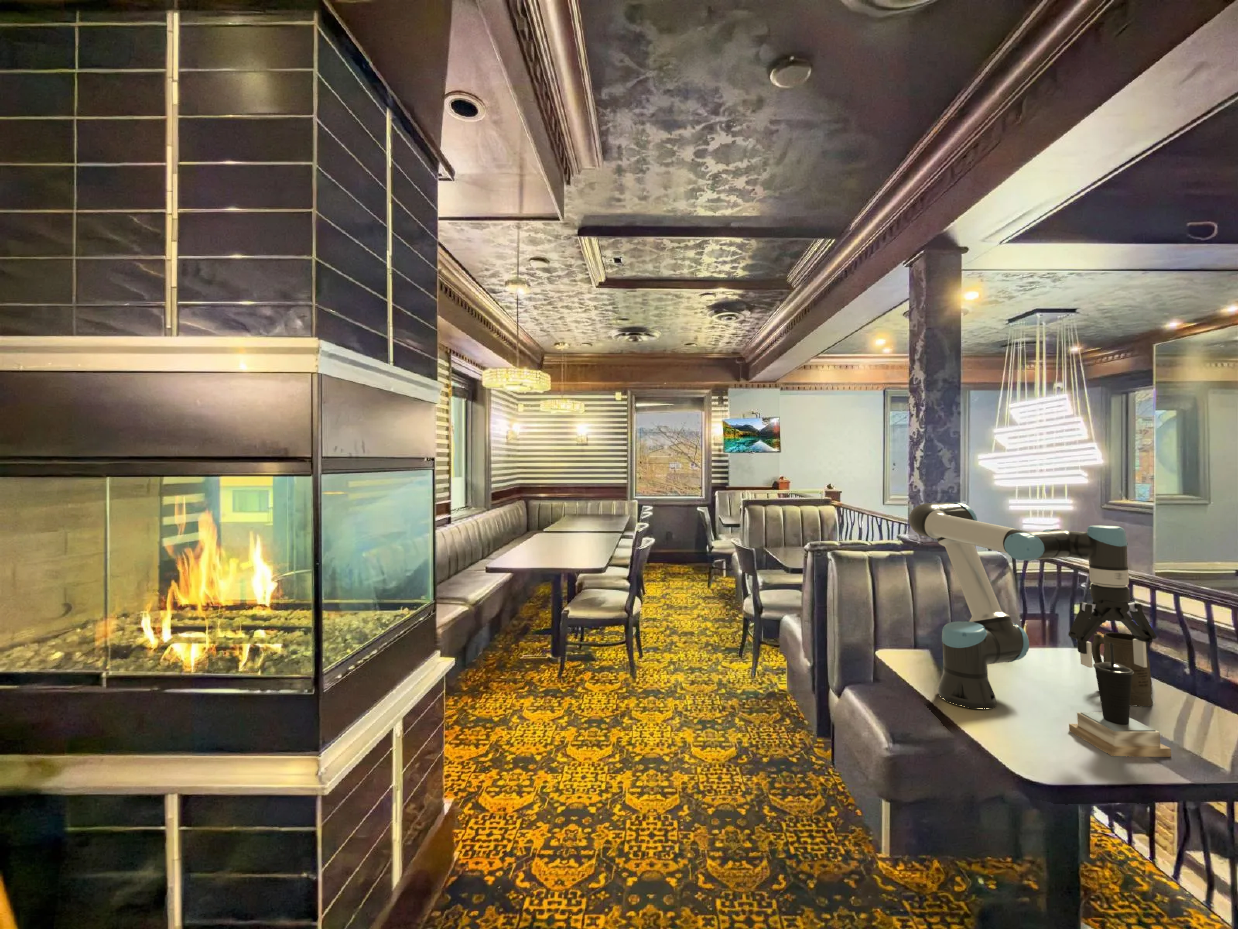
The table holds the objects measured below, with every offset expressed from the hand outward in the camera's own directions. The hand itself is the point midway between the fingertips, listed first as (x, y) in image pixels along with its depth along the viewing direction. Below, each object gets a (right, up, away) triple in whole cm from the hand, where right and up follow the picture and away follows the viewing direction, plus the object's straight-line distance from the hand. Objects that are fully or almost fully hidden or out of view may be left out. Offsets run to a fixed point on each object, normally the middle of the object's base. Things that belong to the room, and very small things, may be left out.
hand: (1113, 665), depth 135 cm
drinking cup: (0, -14, 0) cm, 14 cm away
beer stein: (+28, -21, +27) cm, 44 cm away
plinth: (0, -20, -1) cm, 20 cm away
